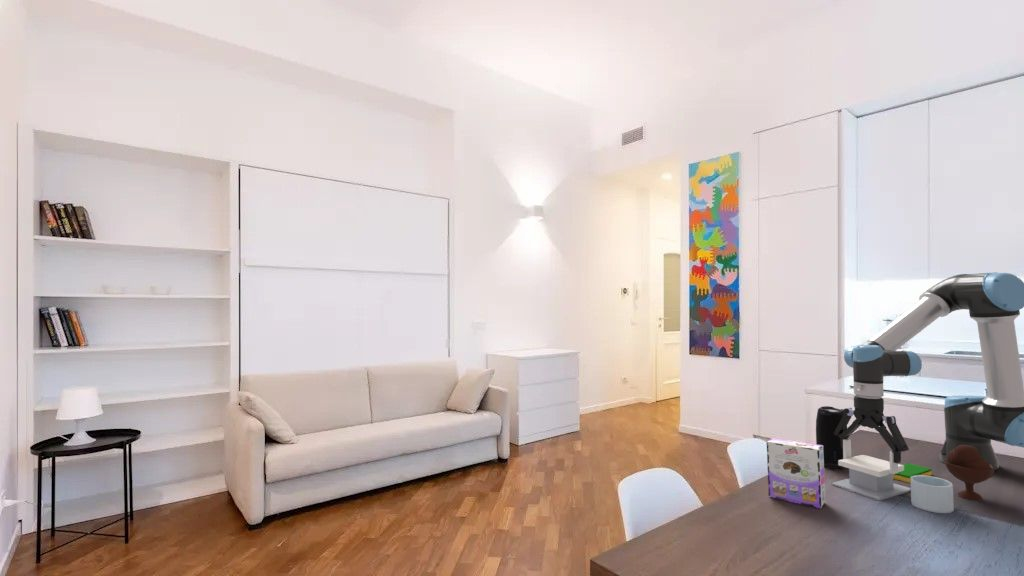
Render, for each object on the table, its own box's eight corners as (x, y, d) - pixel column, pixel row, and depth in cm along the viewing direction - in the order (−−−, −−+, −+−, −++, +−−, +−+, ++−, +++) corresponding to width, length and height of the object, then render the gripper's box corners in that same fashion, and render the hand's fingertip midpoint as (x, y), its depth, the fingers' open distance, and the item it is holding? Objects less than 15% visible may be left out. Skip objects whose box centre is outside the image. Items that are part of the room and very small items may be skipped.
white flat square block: (862, 459, 166) (862, 454, 166) (904, 470, 155) (904, 465, 155) (838, 465, 161) (838, 460, 161) (879, 477, 150) (879, 471, 150)
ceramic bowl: (922, 498, 150) (922, 473, 150) (960, 509, 142) (959, 483, 142) (904, 503, 146) (903, 478, 146) (941, 515, 138) (940, 489, 138)
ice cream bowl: (1005, 505, 144) (1003, 450, 144) (959, 502, 146) (957, 448, 146) (979, 490, 154) (977, 439, 154) (936, 488, 156) (934, 438, 157)
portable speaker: (820, 460, 185) (818, 404, 185) (851, 465, 178) (849, 408, 179) (813, 466, 178) (812, 408, 179) (845, 472, 172) (844, 412, 172)
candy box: (826, 503, 148) (824, 444, 148) (821, 509, 143) (819, 449, 144) (773, 491, 157) (772, 436, 157) (767, 497, 153) (765, 440, 153)
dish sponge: (932, 476, 168) (932, 468, 168) (909, 484, 162) (909, 476, 162) (907, 470, 174) (907, 462, 174) (884, 477, 168) (884, 469, 168)
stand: (864, 476, 168) (863, 457, 168) (912, 490, 155) (911, 470, 155) (831, 484, 161) (831, 465, 161) (879, 500, 149) (878, 479, 149)
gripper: (821, 390, 168) (822, 456, 168) (906, 405, 146) (907, 481, 145) (836, 388, 172) (837, 453, 171) (922, 402, 149) (923, 477, 149)
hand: (869, 466), depth 158 cm, fingers open, 13 cm apart
